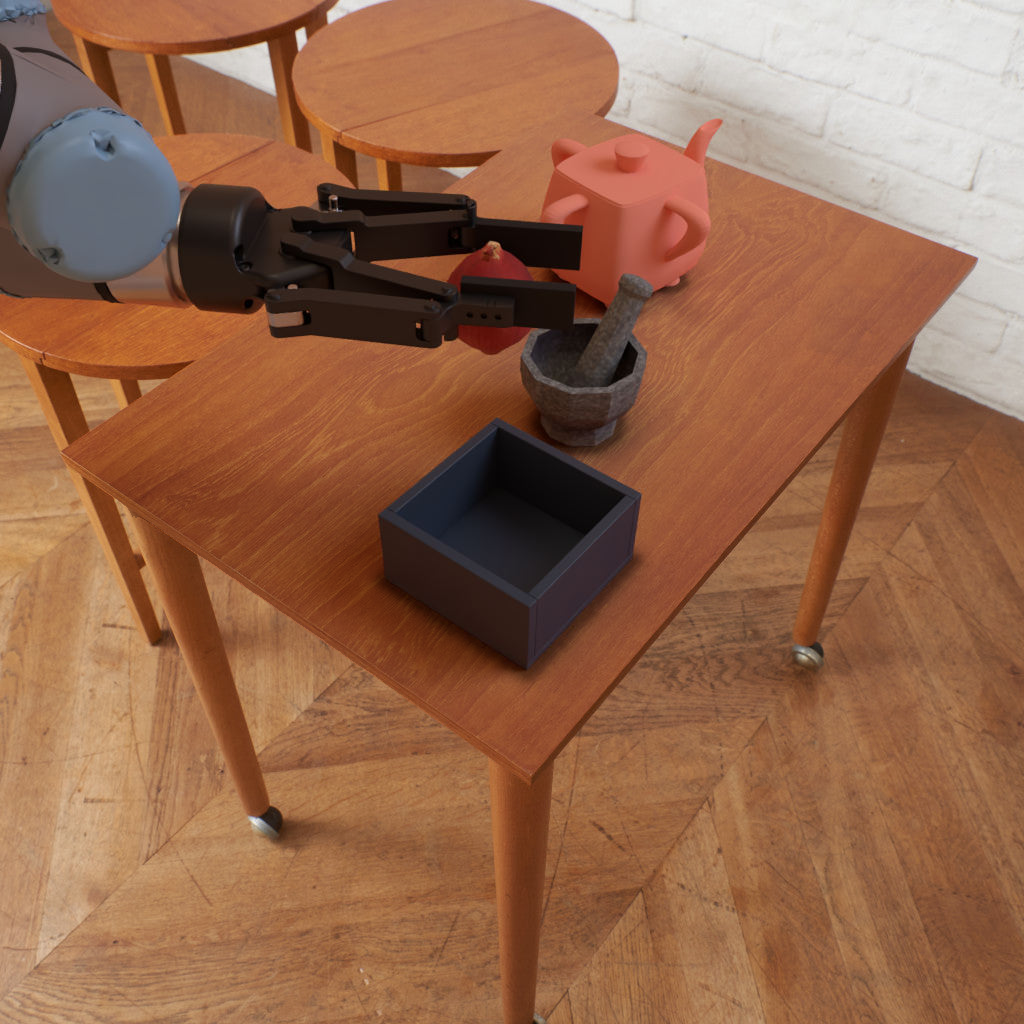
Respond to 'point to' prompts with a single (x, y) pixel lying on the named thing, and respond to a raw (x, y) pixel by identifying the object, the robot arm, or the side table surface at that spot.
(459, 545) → the dark blue open box
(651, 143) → the teapot
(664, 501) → the side table surface
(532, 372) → the mortar and pestle
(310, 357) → the side table surface
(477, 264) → the onion
